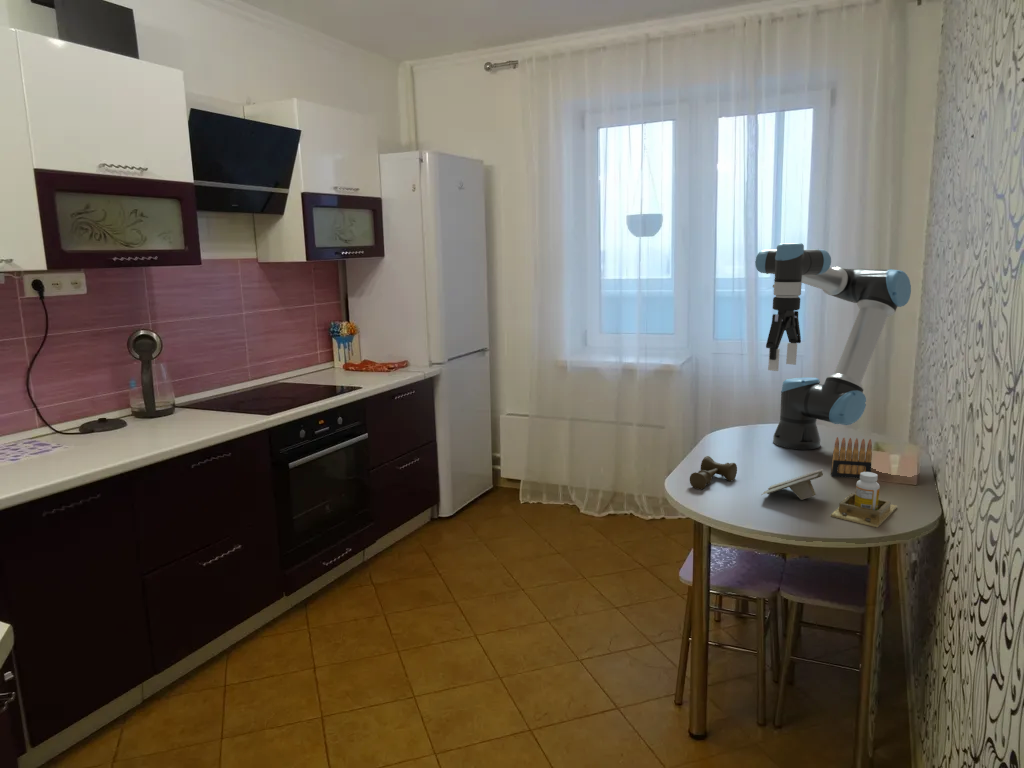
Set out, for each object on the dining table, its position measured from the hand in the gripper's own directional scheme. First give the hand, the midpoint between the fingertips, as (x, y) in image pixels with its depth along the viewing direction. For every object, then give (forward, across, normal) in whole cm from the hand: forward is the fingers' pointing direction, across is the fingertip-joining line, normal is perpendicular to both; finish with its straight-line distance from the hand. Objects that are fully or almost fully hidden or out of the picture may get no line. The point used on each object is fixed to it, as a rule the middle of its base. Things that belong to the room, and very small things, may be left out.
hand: (782, 367), depth 209 cm
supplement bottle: (+31, +20, +32) cm, 49 cm away
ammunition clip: (+32, -6, +20) cm, 38 cm away
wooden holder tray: (+32, +21, +31) cm, 49 cm away
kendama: (+32, +23, -10) cm, 41 cm away
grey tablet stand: (+32, +22, +13) cm, 41 cm away
